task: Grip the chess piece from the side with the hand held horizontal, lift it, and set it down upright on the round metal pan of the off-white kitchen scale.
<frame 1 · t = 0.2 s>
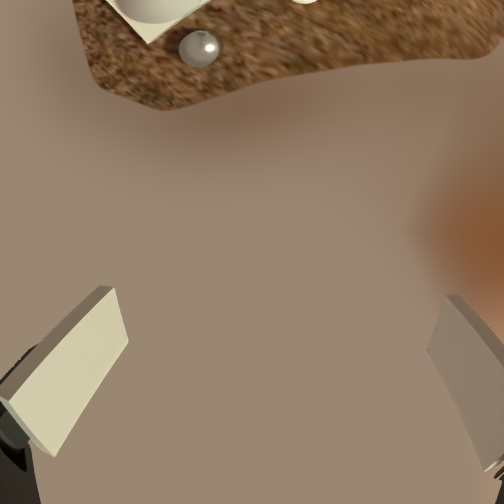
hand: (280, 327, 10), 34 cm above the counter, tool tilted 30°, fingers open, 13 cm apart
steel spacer: (204, 45, 29), on the counter
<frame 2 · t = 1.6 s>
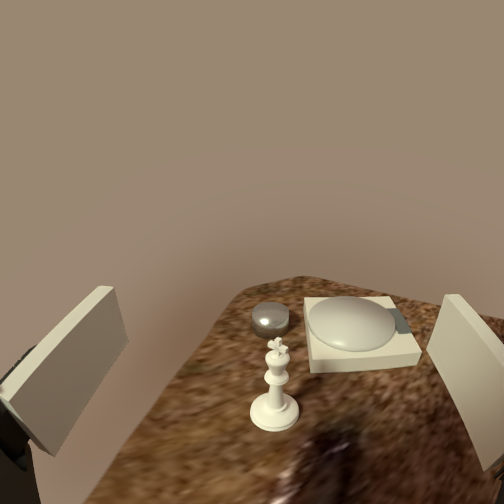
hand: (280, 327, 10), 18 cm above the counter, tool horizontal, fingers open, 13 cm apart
chess piece: (274, 413, 25), on the counter
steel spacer: (270, 328, 39), on the counter
scale: (356, 335, 36), on the counter
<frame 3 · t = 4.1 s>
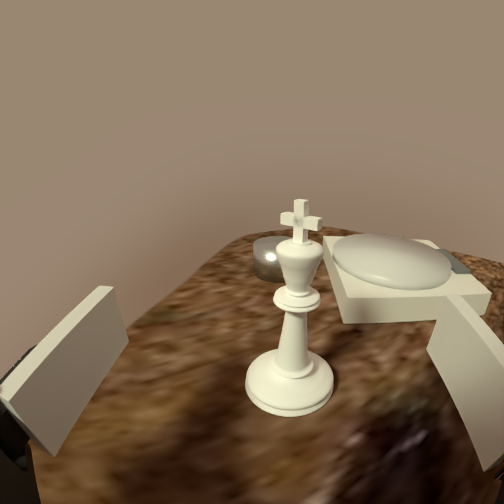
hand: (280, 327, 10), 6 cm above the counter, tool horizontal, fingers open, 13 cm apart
chess piece: (289, 385, 15), on the counter
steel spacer: (278, 272, 29), on the counter
scale: (397, 281, 26), on the counter
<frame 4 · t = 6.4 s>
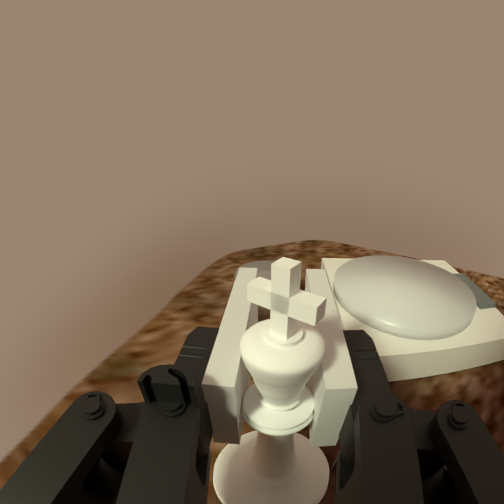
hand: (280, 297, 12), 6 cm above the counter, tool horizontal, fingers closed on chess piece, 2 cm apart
chess piece: (271, 478, 9), on the counter, touching gripper
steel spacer: (266, 305, 23), on the counter
scale: (410, 316, 20), on the counter
when the fingers open (11 cm above the counter, at t = 10.1 s): chess piece drops 2 cm, resting on scale.
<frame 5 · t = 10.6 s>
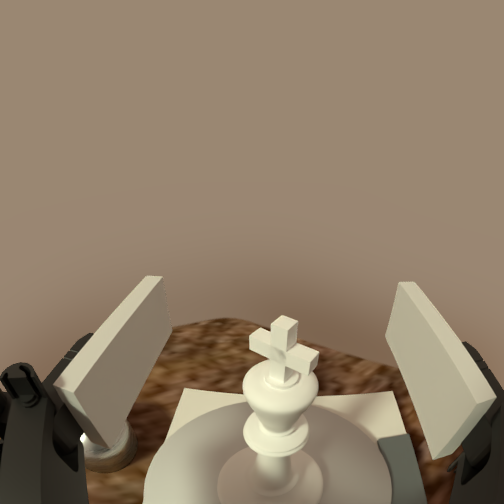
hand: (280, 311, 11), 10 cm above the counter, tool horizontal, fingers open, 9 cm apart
chess piece: (270, 488, 10), point 3 cm above the counter, touching scale
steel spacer: (104, 444, 14), on the counter
scale: (285, 503, 11), on the counter
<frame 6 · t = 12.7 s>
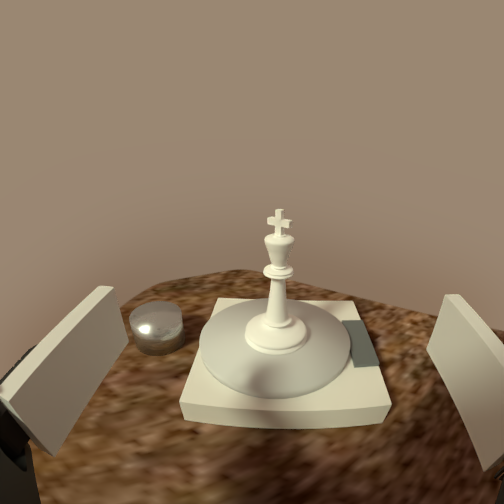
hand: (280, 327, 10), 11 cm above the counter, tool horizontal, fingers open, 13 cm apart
chess piece: (275, 337, 22), point 3 cm above the counter, touching scale
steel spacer: (160, 340, 26), on the counter
scale: (285, 363, 23), on the counter
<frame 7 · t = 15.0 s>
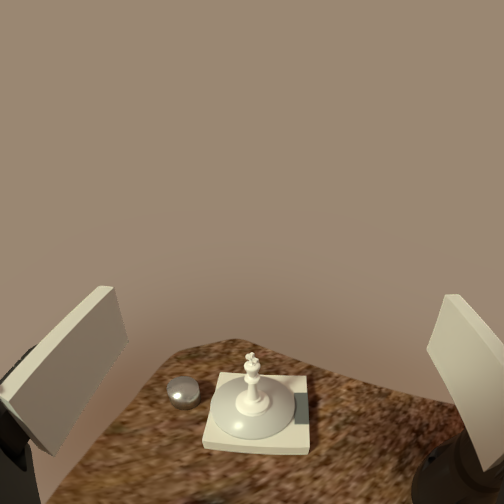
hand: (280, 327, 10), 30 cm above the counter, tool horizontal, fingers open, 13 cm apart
chess piece: (252, 404, 37), point 3 cm above the counter, touching scale
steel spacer: (185, 399, 41), on the counter
scale: (259, 415, 37), on the counter
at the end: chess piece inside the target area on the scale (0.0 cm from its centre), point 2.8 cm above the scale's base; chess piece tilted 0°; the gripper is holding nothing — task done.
